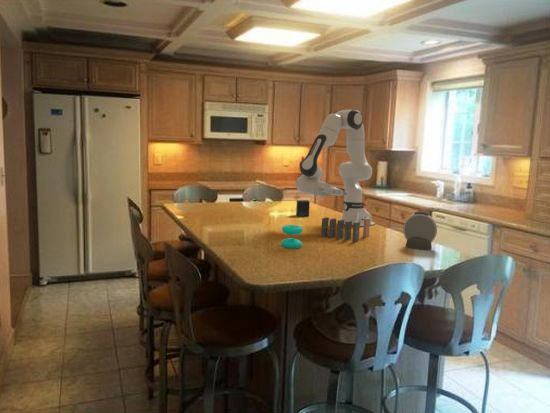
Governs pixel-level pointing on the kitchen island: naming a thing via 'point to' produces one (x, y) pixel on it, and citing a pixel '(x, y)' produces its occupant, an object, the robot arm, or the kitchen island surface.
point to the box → (302, 208)
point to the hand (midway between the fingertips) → (344, 193)
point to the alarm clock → (420, 231)
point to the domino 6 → (366, 227)
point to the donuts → (290, 241)
